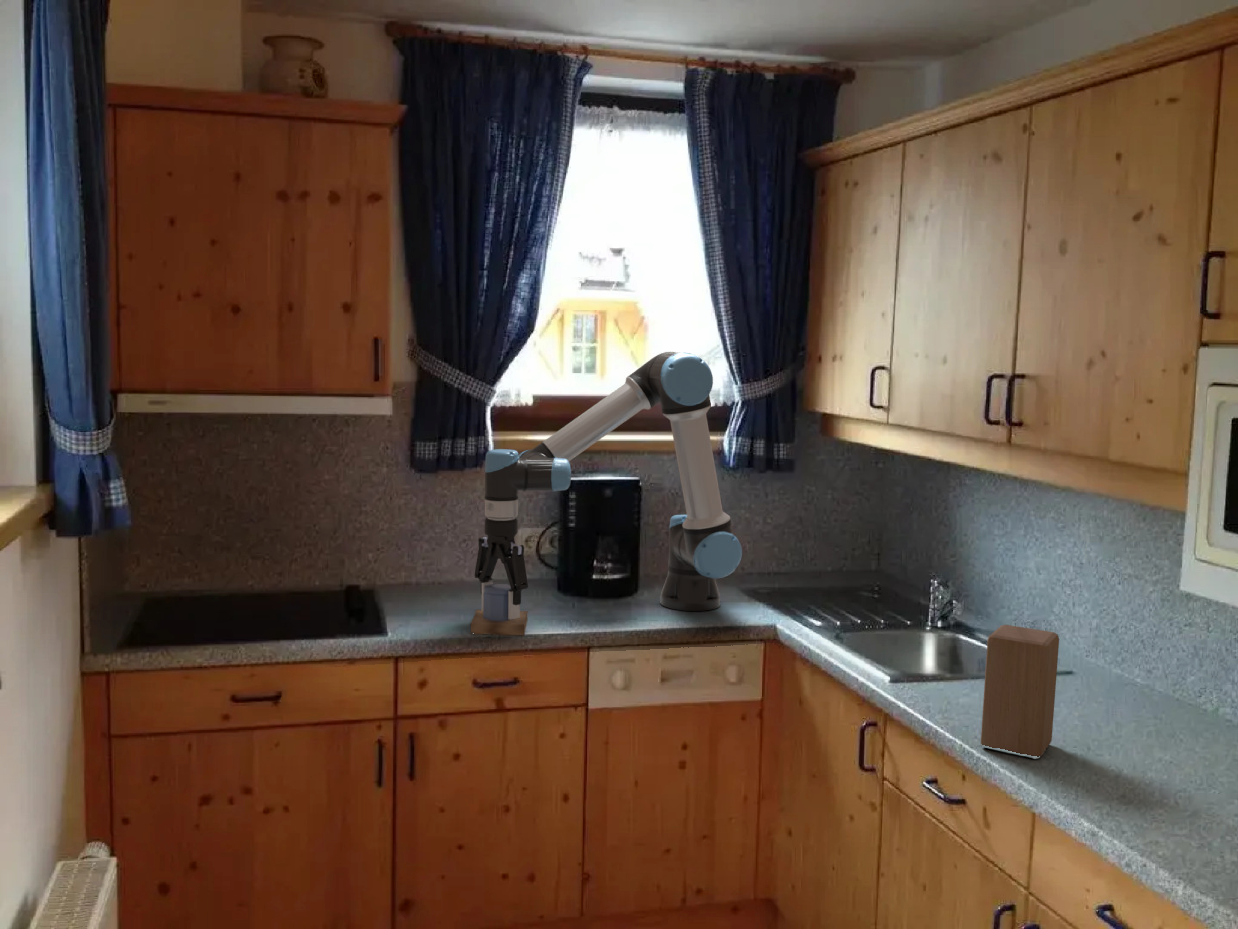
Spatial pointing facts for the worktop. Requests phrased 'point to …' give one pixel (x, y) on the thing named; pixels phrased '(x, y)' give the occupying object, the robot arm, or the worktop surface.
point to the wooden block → (1019, 689)
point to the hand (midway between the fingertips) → (500, 613)
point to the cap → (496, 602)
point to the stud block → (499, 625)
